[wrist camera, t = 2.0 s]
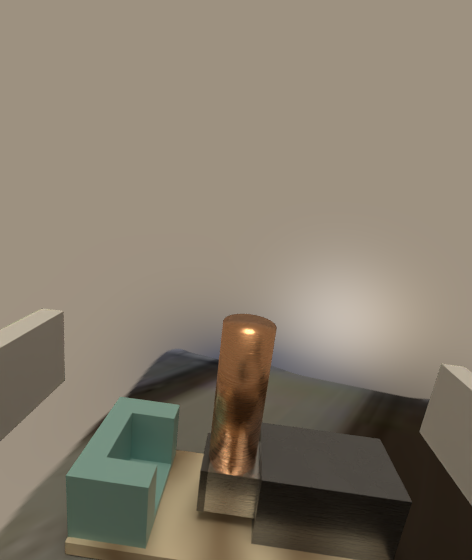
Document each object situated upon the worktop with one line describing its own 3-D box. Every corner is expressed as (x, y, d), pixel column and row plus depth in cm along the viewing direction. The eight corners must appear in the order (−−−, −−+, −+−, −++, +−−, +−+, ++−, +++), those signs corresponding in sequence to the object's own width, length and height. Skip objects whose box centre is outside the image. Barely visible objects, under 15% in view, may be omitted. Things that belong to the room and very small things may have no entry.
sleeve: (365, 492, 30) (379, 439, 29) (391, 565, 24) (412, 502, 23) (252, 476, 31) (260, 422, 29) (251, 543, 25) (261, 480, 23)
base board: (356, 485, 33) (358, 476, 32) (398, 606, 23) (402, 594, 23) (120, 451, 33) (120, 441, 33) (65, 554, 24) (64, 542, 23)
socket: (175, 453, 33) (179, 405, 31) (145, 548, 24) (148, 487, 22) (119, 444, 33) (120, 396, 31) (68, 536, 24) (65, 475, 22)
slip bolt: (360, 491, 29) (403, 333, 25) (377, 537, 25) (431, 359, 21) (204, 469, 30) (221, 310, 26) (196, 510, 26) (214, 331, 22)
